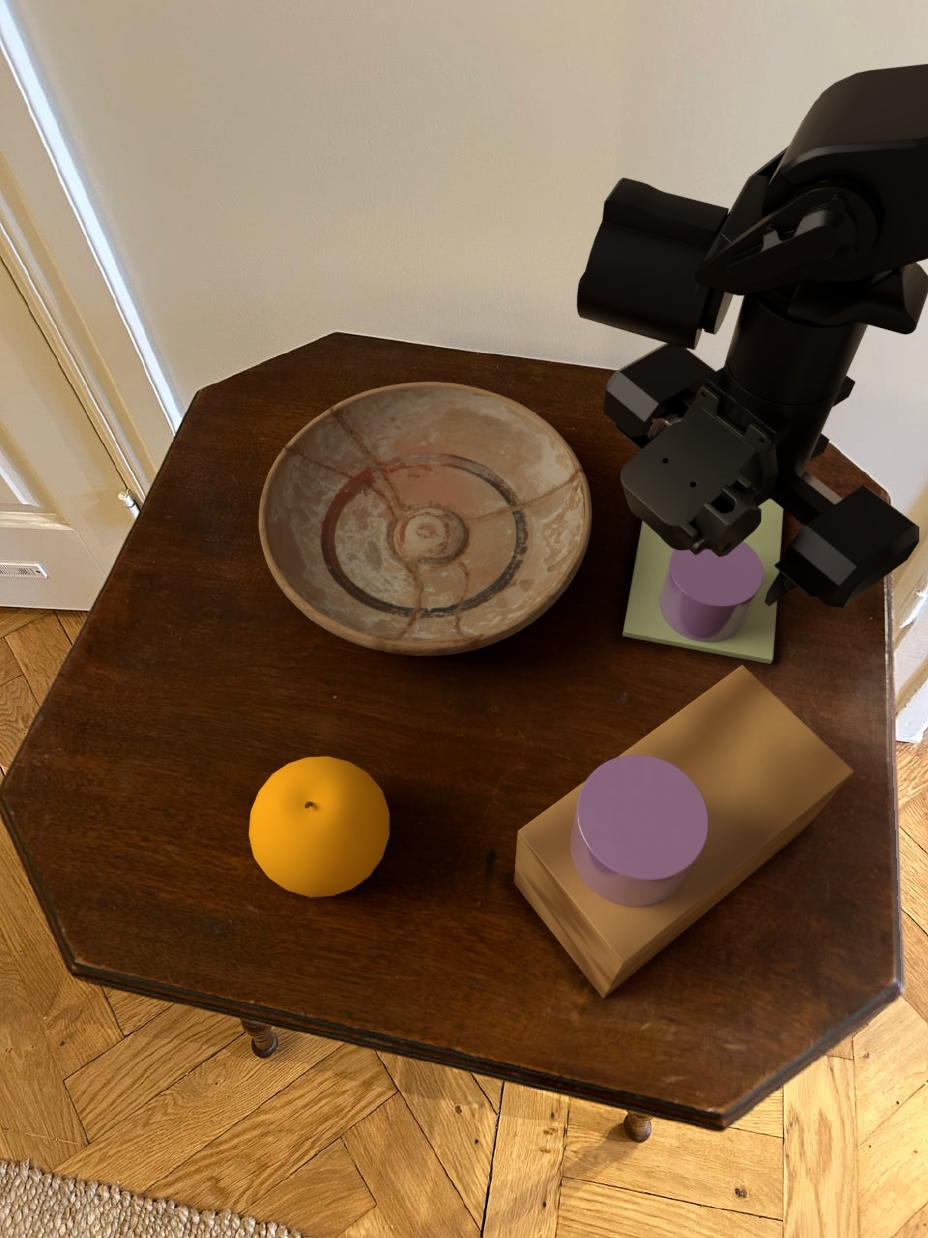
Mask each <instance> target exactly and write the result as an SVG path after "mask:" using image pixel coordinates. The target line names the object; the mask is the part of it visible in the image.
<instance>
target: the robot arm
mask: <svg viewBox="0 0 928 1238" xmlns="http://www.w3.org/2000/svg"><path fill="white" fill-rule="evenodd" d="M601 217H602V218H601V222H600V224H599V227H598V230H597V232H596V234H595V237H594V239H593V243H592V245H591V249H590V252H589V255H588V259H587V263H586V265H585V268H584V269H585V270H584V272H583V274H582V275H581V277H580V278H579V280H578V285H577V292H576V310H577V315H578V316H579V318H582V319H584V320H588V321H592V322H594V323H597V324H602V325H604V326H609V327H611V328H615V329H618V330H622V331H625V332H628V333H631V334H635V335H638V336H642V337H645V338H648V339H652V340H655V341H658V342H662V343H663V344H661V345H660V346H657V347H656V348H654V349H652V350H651V351H649V352H647V353H646V354H644V355H642V356H640V357H638V358H637V359H635V360H633V361H631V362H629V363H628V364H626V365H624V366H622V367H621V368H619V369H618V370H616V371H614V373H613V374H612V375H611V377H610V378H609V380H608V381H607V382H606V386H605V392H604V400H603V408H602V414H604V415H605V416H606V417H607V418H608V419H610V420H611V421H612V422H613V423H614V424H615V427H616V430H617V431H618V433H619V434H621V435H622V436H623V437H624V438H626V440H628V441H629V442H630V443H631V444H632V445H634V446H635V448H637V449H638V450H639V451H638V452H637V453H636V454H635V455H634V456H632V457H631V459H629V460H628V461H627V462H626V463H625V464H624V466H623V467H622V468H621V472H620V477H619V478H620V481H621V485H622V489H623V492H624V495H625V498H626V501H627V505H628V508H629V510H630V511H631V512H632V513H633V515H635V517H636V518H638V519H640V520H641V522H642V521H644V522H645V523H646V524H647V525H648V526H649V527H650V528H651V529H652V530H653V531H654V532H656V533H657V534H658V535H659V536H660V537H661V538H662V540H663V541H664V542H665V543H666V544H667V545H669V546H670V547H671V548H673V549H675V550H680V551H684V550H690V551H691V552H692V553H693V554H694V555H698V554H699V553H701V552H702V551H703V550H706V549H708V550H711V551H712V552H714V553H715V554H716V555H717V556H718V557H723V556H726V555H728V554H729V553H730V552H731V551H732V550H734V549H735V548H736V547H737V546H738V545H739V544H740V543H741V542H743V541H744V540H745V539H746V538H747V537H748V536H749V535H750V534H752V533H753V532H754V531H755V530H756V529H757V527H758V526H759V525H760V523H761V508H759V507H758V506H759V505H761V504H762V503H764V502H765V501H767V500H768V499H772V500H773V501H774V502H776V503H777V504H778V505H779V506H780V507H782V508H783V511H785V512H786V513H788V515H790V516H791V517H792V518H793V519H795V520H796V521H797V522H798V523H800V524H801V525H802V526H803V527H802V528H801V530H800V531H799V532H798V533H797V534H796V535H795V536H794V537H793V539H791V541H790V542H789V543H788V545H787V547H786V549H785V551H784V554H783V558H781V559H780V561H779V562H777V563H776V564H775V565H774V566H775V567H776V568H777V569H778V570H779V573H778V575H777V576H776V578H775V580H774V581H773V583H772V585H771V586H770V588H769V590H768V591H767V594H766V598H765V601H764V603H765V604H766V605H768V606H771V605H772V604H774V603H775V602H776V601H777V602H778V601H779V600H781V599H782V598H784V597H785V596H786V595H788V594H789V593H791V592H792V591H793V590H795V589H798V588H799V589H800V590H801V591H802V592H803V593H804V594H805V595H806V596H808V597H811V598H814V599H815V598H817V599H818V600H820V601H821V602H822V603H823V604H824V605H825V606H826V607H831V608H838V609H839V608H840V609H843V608H845V607H846V606H848V605H849V604H851V603H852V602H854V600H856V599H857V598H858V597H860V596H861V595H863V594H864V593H865V592H867V591H869V589H870V588H872V587H873V586H874V585H876V584H877V583H878V582H880V581H881V580H882V579H884V578H885V577H887V576H888V575H889V574H891V573H892V572H893V571H895V570H896V569H897V568H899V567H900V566H901V565H902V564H904V563H905V562H907V561H908V560H909V558H910V557H911V556H912V553H913V552H914V551H915V549H916V548H917V546H918V545H919V543H920V526H919V525H918V524H916V523H915V522H914V521H912V520H911V519H910V518H909V517H907V516H906V515H905V514H903V513H902V512H901V511H899V510H898V509H897V508H895V507H894V506H893V505H892V504H890V503H889V502H888V501H886V500H885V499H884V498H882V497H881V496H880V495H878V494H877V493H876V492H875V491H873V490H872V489H870V488H869V487H868V486H866V485H865V484H862V485H861V486H860V487H858V488H857V489H855V490H853V491H852V492H851V493H850V494H848V495H847V496H845V497H844V498H843V497H841V496H840V495H838V494H837V493H836V492H835V491H833V490H832V489H831V488H830V487H828V486H827V485H826V484H824V483H823V482H822V481H821V480H819V479H818V478H817V477H816V476H815V475H813V474H812V473H810V472H809V471H808V470H807V467H808V464H809V463H811V462H812V461H814V460H815V459H817V458H818V457H820V456H821V455H823V454H824V453H825V451H826V449H827V447H828V445H829V442H830V440H831V439H830V438H829V437H827V436H826V435H825V434H823V433H822V432H823V430H824V427H825V425H826V423H827V422H828V418H829V416H830V414H831V411H832V409H833V408H834V407H836V406H837V405H838V404H841V403H842V402H843V401H845V400H847V399H848V398H850V396H851V393H852V391H853V389H854V387H855V384H856V381H855V380H854V379H853V378H851V377H850V376H848V372H849V370H850V368H851V365H852V364H853V362H854V359H855V356H856V354H857V352H858V350H859V347H860V344H861V342H862V340H863V338H864V335H865V333H866V331H867V329H868V327H869V326H871V327H875V328H878V329H882V330H886V331H890V332H892V333H896V334H900V335H910V334H912V333H914V332H915V331H916V329H917V327H918V324H919V322H920V319H921V316H922V313H923V309H924V306H925V304H926V300H927V298H928V274H927V272H926V271H925V269H924V268H923V267H922V265H921V264H920V262H922V261H925V260H928V63H922V64H921V63H920V64H914V65H913V64H912V65H904V66H896V67H886V68H885V67H884V68H876V69H868V70H864V71H858V72H855V73H853V74H851V75H849V76H846V77H844V78H842V79H840V80H838V81H835V82H833V83H832V84H831V85H830V86H828V87H827V88H826V89H825V90H823V91H822V92H821V93H820V95H819V96H818V97H817V99H816V100H815V101H814V102H813V104H812V105H811V106H810V108H809V110H808V112H807V113H806V115H805V116H804V118H803V119H802V121H801V122H800V124H799V127H798V128H797V130H796V132H795V134H794V135H793V137H792V139H791V142H790V143H789V144H788V146H786V147H785V148H784V149H782V150H781V151H780V152H779V153H778V154H776V155H775V156H773V158H771V159H770V160H768V162H766V163H765V164H764V165H762V166H761V167H760V168H759V169H757V170H756V171H755V172H753V173H752V174H750V176H748V177H747V179H746V181H745V183H744V184H743V186H742V188H741V189H740V192H739V194H738V196H737V197H736V199H735V201H734V202H733V204H732V206H731V208H729V207H725V206H721V205H717V204H714V203H710V202H705V201H701V200H697V199H693V198H690V197H686V196H682V195H679V194H674V193H671V192H665V191H663V190H660V189H658V188H656V187H654V186H653V185H651V184H648V183H646V182H643V181H639V180H635V179H632V178H627V177H622V178H620V179H619V180H618V181H617V182H616V184H615V186H613V188H612V190H611V191H610V192H609V194H608V195H607V197H606V198H605V200H604V202H603V210H602V216H601ZM734 296H738V297H742V301H741V303H740V308H739V312H738V315H737V318H736V322H735V326H734V329H733V333H732V336H731V340H730V343H729V347H728V350H727V354H726V358H725V361H724V363H723V367H721V368H719V369H717V370H715V369H714V368H713V367H712V366H711V365H709V364H708V363H706V362H705V361H704V360H703V359H701V358H700V357H699V356H697V355H696V354H695V353H693V352H692V351H696V349H697V347H698V345H699V342H700V340H701V336H702V332H704V333H707V334H709V335H714V336H716V335H717V334H718V332H719V330H720V329H721V327H722V324H723V323H724V321H725V318H726V316H727V313H728V311H729V309H730V306H731V304H732V300H733V298H734ZM691 350H692V351H691Z"/></svg>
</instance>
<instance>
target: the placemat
mask: <svg viewBox="0 0 928 1238" xmlns="http://www.w3.org/2000/svg"><path fill="white" fill-rule="evenodd" d="M758 507H759V508H761V523H760V525H759V526H758V527H757V529H756V530H755V531H754V532H753V533H752V534H750V535H749V536H748V537H747V538H746V539H745V540H744V542H745V543H746V544H748V545H749V546H750V547H751V548H752V549H753V550H754V551H755V552H756V554H757V555H758V557H759V559H760V561H761V563H762V567H763V580H762V584H761V586H760V589H759V591H758V593H757V595H756V598H755V600H754V602H753V604H752V607H751V609H750V611H749V613H748V616H747V618H746V620H745V622H744V624H743V626H742V627H741V629H740V630H739V631H738V632H737V633H736V634H734V635H733V636H731V637H729V638H727V639H725V640H722V641H717V642H699V641H695V640H691V639H688V638H686V637H684V636H682V635H680V634H679V633H677V632H676V631H674V630H673V629H672V628H671V627H670V626H669V625H668V624H667V622H666V621H665V619H664V618H663V616H662V613H661V611H660V606H659V597H660V593H661V589H662V586H663V582H664V579H665V575H666V572H667V568H668V564H669V561H670V557H671V554H672V552H673V550H674V549H673V548H671V547H670V546H669V545H667V544H666V543H665V542H664V541H663V540H662V538H661V537H660V536H659V535H658V534H657V533H656V532H654V531H653V530H652V529H651V528H650V527H649V526H648V525H647V524H646V523H645V522H644V521H642V520H641V527H640V532H639V537H638V538H639V539H638V544H637V549H636V555H635V561H634V567H633V572H632V580H631V584H630V590H629V596H628V600H627V601H628V602H627V608H626V613H625V619H624V623H623V631H622V637H626V638H631V639H636V640H642V641H647V642H651V643H657V644H662V645H668V646H673V647H679V648H684V649H689V650H694V651H699V652H705V653H711V654H716V655H720V656H727V657H731V658H737V659H742V660H748V661H752V662H759V663H763V664H767V665H768V664H769V665H771V664H772V663H773V660H774V650H775V637H776V636H775V635H776V622H777V621H776V620H777V608H778V607H777V606H778V601H776V602H775V603H774V604H772V605H771V606H768V605H766V604H765V603H764V601H765V598H766V594H767V591H768V590H769V588H770V586H771V585H772V583H773V581H774V580H775V578H776V576H777V575H778V573H779V570H778V569H777V568H776V567H775V566H774V565H775V564H776V563H777V562H779V561H780V560H781V550H782V535H783V522H784V509H783V508H782V507H780V506H779V505H778V504H777V503H776V502H774V501H773V500H772V499H771V498H769V499H768V500H767V501H765V502H764V503H762V504H761V505H759V506H758Z"/></svg>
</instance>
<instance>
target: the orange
mask: <svg viewBox="0 0 928 1238" xmlns="http://www.w3.org/2000/svg"><path fill="white" fill-rule="evenodd" d="M248 837H249V842H250V847H251V852H252V855H253V858H254V860H255V861H256V863H257V864H258V865H259V867H260V869H261V870H262V871H263V872H264V875H266V877H268V879H270V880H272V882H274V883H276V884H277V885H278V886H280V887H281V888H283V889H284V890H286V891H288V892H290V893H294V894H298V895H301V896H304V897H307V898H321V897H323V898H324V897H333V896H336V895H339V894H341V893H344V892H347V891H350V890H352V889H354V888H355V887H356V886H358V885H359V884H361V883H362V882H364V881H365V880H367V879H368V878H369V877H370V876H371V875H372V874H373V872H374V871H375V869H376V868H377V866H378V865H379V864H380V862H381V861H382V859H383V857H384V854H385V850H386V847H387V845H388V841H389V838H390V810H389V807H388V803H387V800H386V798H385V795H384V792H383V790H382V788H381V787H380V786H379V785H378V783H377V782H376V781H375V780H374V778H373V777H372V776H371V775H370V773H368V772H366V771H365V770H364V769H362V768H361V767H359V766H358V765H356V764H354V763H352V762H350V761H347V760H344V759H340V758H337V757H334V756H333V757H332V756H328V755H326V756H325V755H324V756H323V755H322V756H309V757H303V758H301V759H297V760H295V761H292V762H289V763H287V764H285V765H284V766H282V767H281V768H279V769H278V770H276V771H274V772H273V773H272V774H271V775H270V777H269V778H268V779H267V780H266V782H265V783H264V784H263V785H262V787H261V788H260V789H259V790H258V793H257V795H256V798H255V800H254V803H253V805H252V808H251V810H250V815H249V827H248Z"/></svg>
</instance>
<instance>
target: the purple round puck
mask: <svg viewBox="0 0 928 1238" xmlns="http://www.w3.org/2000/svg"><path fill="white" fill-rule="evenodd" d="M762 580H763V567H762V563H761V561H760V559H759V557H758V555H757V554H756V552H755V551H754V550H753V549H752V548H751V547H750V546H749V545H748V544H746V543H745V542H744V541H743V542H741V543H740V544H739V545H738V546H737V547H736V548H735V549H734V550H732V551H731V552H730V553H729V554H728V555H726V556H723V557H718V556H717V555H716V554H715V553H714V552H712V551H711V550H708V549H706V550H703V551H702V552H701V553H699V554H698V555H694V554H693V553H692V552H691V551H690V550H684V551H680V550H675V549H674V550H673V552H672V554H671V557H670V561H669V564H668V568H667V572H666V575H665V579H664V582H663V586H662V589H661V593H660V597H659V606H660V611H661V613H662V616H663V618H664V619H665V621H666V622H667V624H668V625H669V626H670V627H671V628H672V629H673V630H674V631H676V632H677V633H679V634H680V635H682V636H684V637H686V638H688V639H691V640H695V641H699V642H717V641H722V640H725V639H727V638H729V637H731V636H733V635H734V634H736V633H737V632H738V631H739V630H740V629H741V627H742V626H743V624H744V622H745V620H746V618H747V616H748V613H749V611H750V609H751V607H752V604H753V602H754V600H755V598H756V595H757V593H758V591H759V589H760V586H761V584H762Z"/></svg>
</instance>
